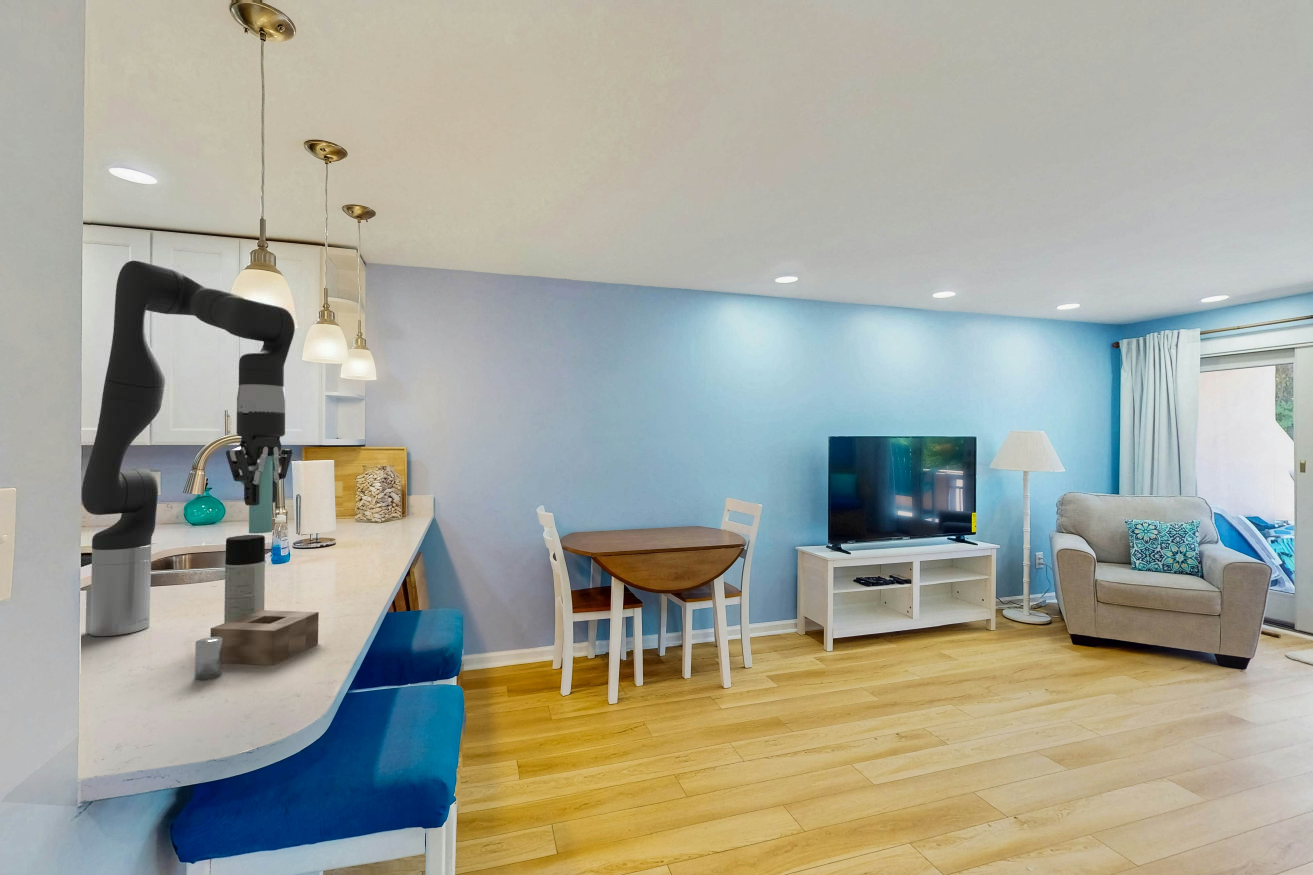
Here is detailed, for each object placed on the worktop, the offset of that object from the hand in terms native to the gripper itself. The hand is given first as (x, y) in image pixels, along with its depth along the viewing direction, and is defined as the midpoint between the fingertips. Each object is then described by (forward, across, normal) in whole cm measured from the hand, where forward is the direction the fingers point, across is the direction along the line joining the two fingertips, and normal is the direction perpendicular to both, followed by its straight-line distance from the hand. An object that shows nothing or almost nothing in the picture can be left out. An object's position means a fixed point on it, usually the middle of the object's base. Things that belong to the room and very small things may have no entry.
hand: (260, 503), depth 112 cm
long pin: (+5, 0, 0) cm, 5 cm away
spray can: (+28, -9, -11) cm, 31 cm away
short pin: (+28, +11, 0) cm, 30 cm away
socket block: (+28, -1, 0) cm, 28 cm away
